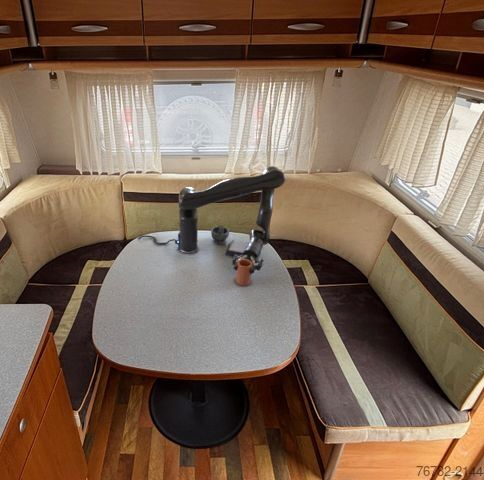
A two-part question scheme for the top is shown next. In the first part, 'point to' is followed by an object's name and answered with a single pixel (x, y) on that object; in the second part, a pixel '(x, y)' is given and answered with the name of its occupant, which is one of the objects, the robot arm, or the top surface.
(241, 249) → the scale
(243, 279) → the cup
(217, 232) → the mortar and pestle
